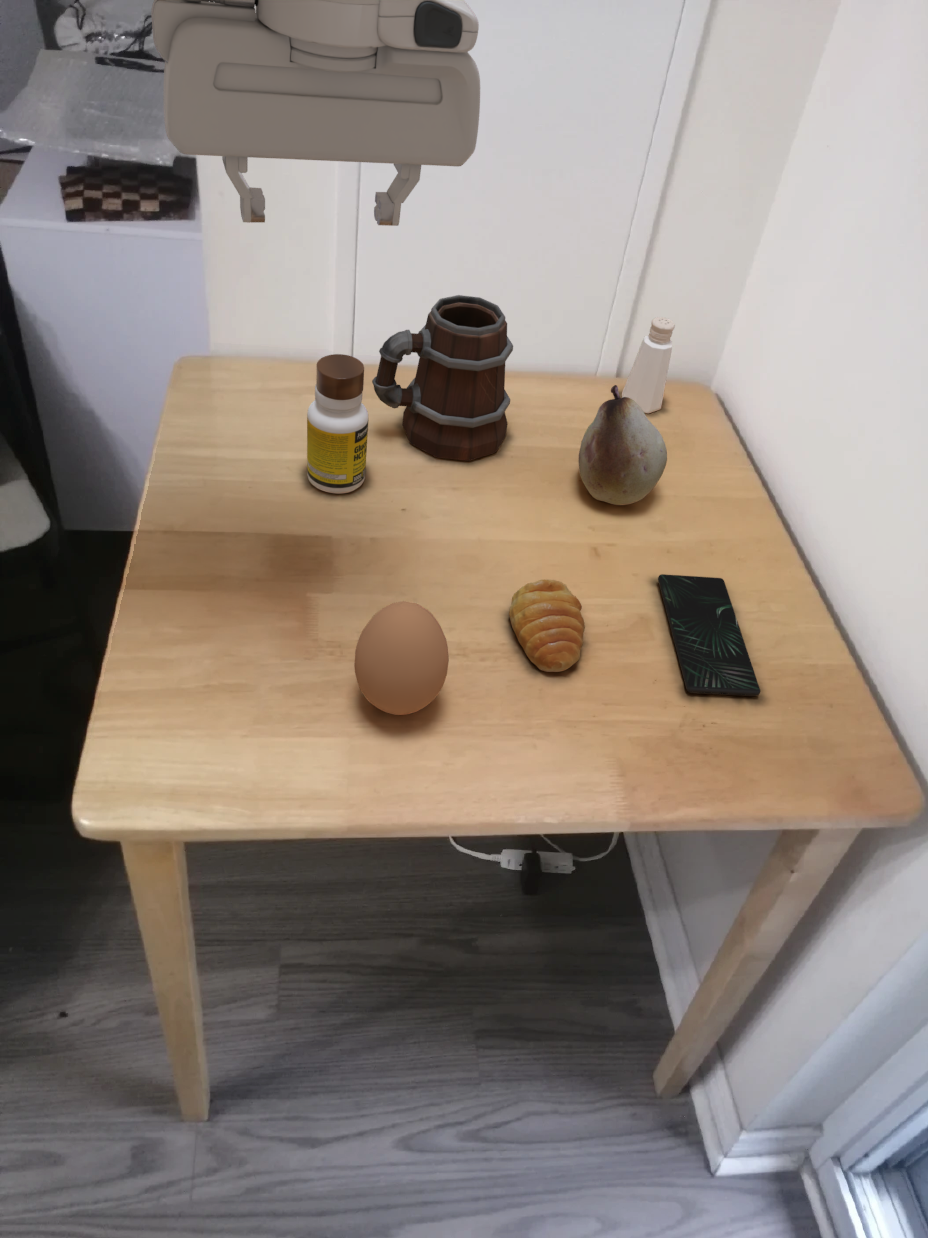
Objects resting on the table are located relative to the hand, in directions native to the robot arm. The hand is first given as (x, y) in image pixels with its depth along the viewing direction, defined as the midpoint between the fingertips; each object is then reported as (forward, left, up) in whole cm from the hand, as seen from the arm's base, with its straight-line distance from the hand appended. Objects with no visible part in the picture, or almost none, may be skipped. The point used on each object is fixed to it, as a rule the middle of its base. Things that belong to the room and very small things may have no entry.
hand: (320, 220), depth 66 cm
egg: (+4, -17, -34) cm, 38 cm away
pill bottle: (+5, +15, -34) cm, 37 cm away
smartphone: (+35, -14, -34) cm, 50 cm away
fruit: (+35, +9, -34) cm, 49 cm away
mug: (+18, +22, -34) cm, 44 cm away
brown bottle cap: (+5, +15, -23) cm, 27 cm away
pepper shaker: (+46, +26, -34) cm, 62 cm away
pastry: (+20, -11, -34) cm, 41 cm away
